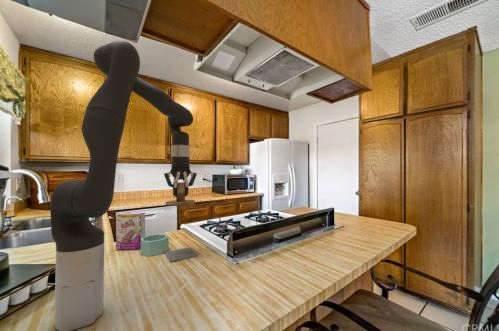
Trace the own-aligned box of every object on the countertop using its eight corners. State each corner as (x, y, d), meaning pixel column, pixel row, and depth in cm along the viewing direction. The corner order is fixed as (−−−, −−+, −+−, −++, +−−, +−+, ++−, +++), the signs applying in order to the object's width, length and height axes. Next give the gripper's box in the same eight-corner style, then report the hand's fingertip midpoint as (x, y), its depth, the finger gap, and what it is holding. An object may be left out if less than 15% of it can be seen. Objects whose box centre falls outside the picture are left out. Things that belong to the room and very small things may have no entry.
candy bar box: (115, 250, 96) (115, 214, 96) (121, 246, 101) (122, 212, 101) (140, 250, 96) (140, 213, 97) (145, 246, 101) (145, 211, 102)
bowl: (169, 252, 92) (169, 238, 93) (141, 258, 87) (141, 243, 87) (165, 245, 102) (165, 232, 102) (139, 249, 96) (140, 236, 96)
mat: (197, 256, 88) (197, 254, 88) (169, 262, 82) (169, 260, 82) (190, 248, 97) (190, 247, 97) (165, 253, 91) (165, 252, 91)
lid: (198, 204, 88) (198, 182, 89) (168, 206, 82) (168, 183, 82) (190, 201, 99) (190, 181, 99) (163, 203, 92) (163, 182, 93)
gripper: (164, 155, 84) (164, 198, 84) (199, 156, 91) (199, 196, 91) (161, 156, 91) (161, 196, 90) (194, 157, 98) (194, 194, 97)
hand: (180, 196), depth 90 cm, fingers closed on lid, 3 cm apart
